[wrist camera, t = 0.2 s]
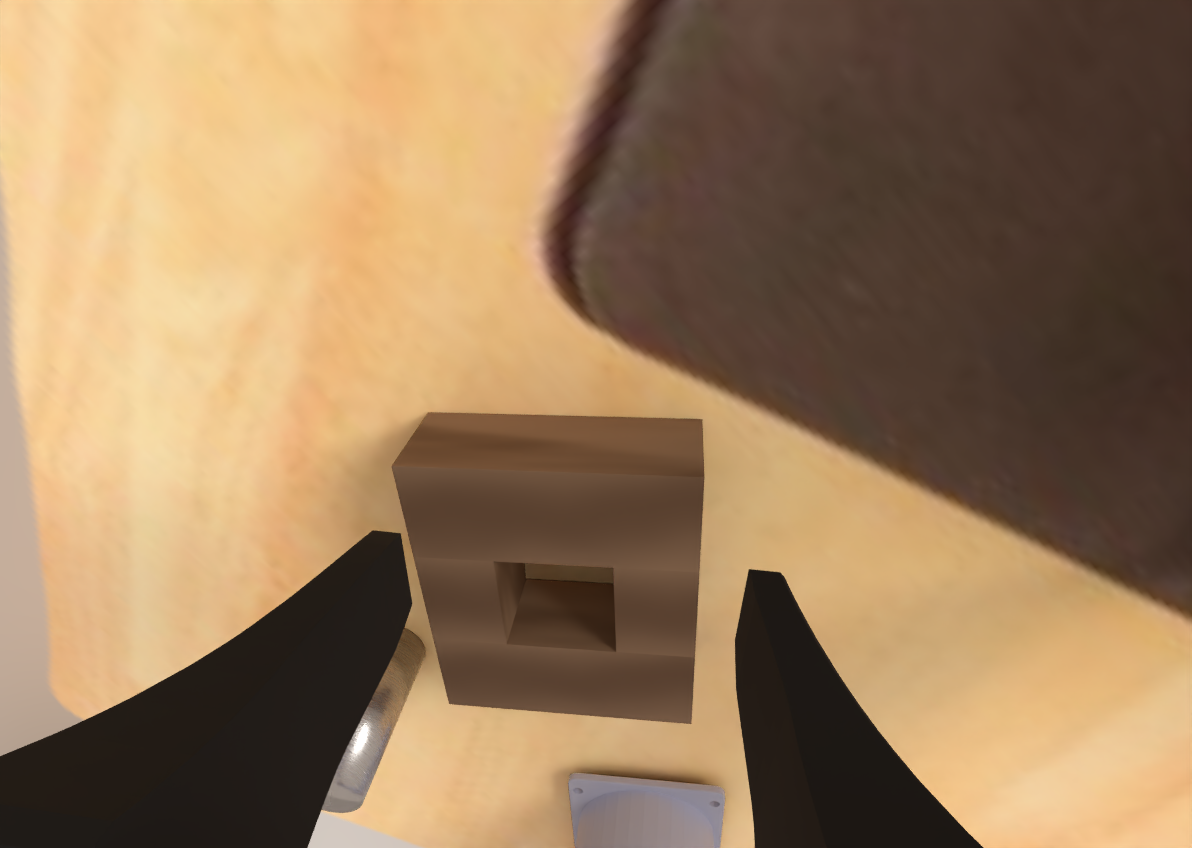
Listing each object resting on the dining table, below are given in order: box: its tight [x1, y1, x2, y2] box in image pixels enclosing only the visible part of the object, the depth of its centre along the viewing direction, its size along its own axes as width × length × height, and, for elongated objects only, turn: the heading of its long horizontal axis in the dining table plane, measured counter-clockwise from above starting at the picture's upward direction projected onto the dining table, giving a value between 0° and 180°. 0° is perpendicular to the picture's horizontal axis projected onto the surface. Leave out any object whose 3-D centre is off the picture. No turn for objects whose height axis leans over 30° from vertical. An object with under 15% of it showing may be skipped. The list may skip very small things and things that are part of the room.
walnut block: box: [392, 413, 704, 724], centre depth 25 cm, size 12×10×4 cm
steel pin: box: [321, 628, 425, 813], centre depth 28 cm, size 3×3×7 cm
